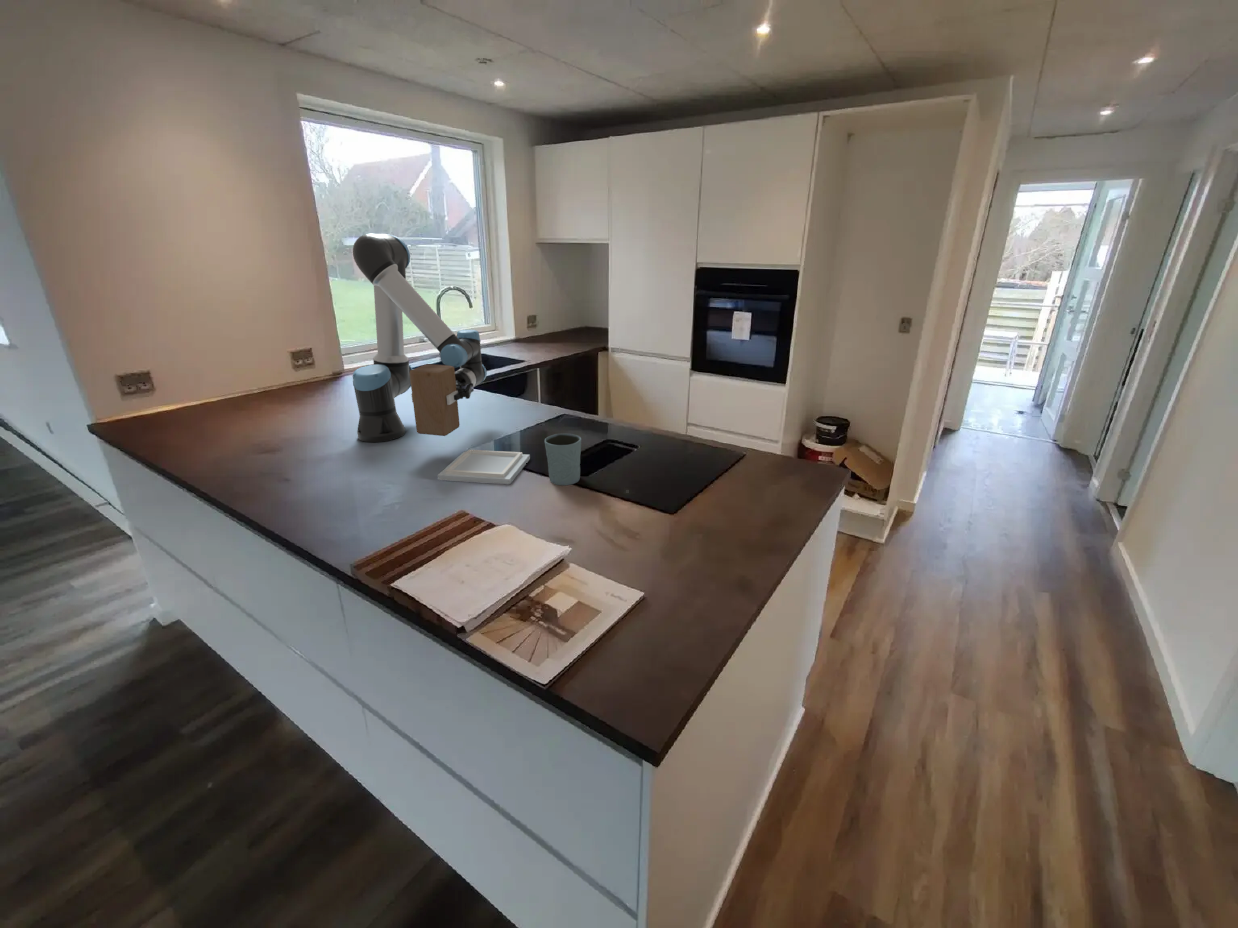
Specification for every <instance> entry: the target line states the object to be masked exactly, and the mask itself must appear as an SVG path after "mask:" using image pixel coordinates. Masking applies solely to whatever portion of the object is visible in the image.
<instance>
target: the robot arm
mask: <svg viewBox="0 0 1238 928" xmlns="http://www.w3.org/2000/svg"><path fill="white" fill-rule="evenodd" d="M352 256H353V257H352V258H353V260H354V262H355V264H356V266H357V268H358V269H359V270H360V272H361V273H362V274H363V275H364V276H365V278H367V280H368V281H369V282H370V283H371V284H372V285H373V294H374V299H373V300H374V311H375V312H374V313H375V330H376V343H377V344H376V345H377V349H376V350H377V353H376V354H375V356H373V358H372V359H373V360H372V361H373V364H370V365H369V364H368V365H366V366H361V367H359V368H357V369H355V370H354V371H353V373H352V386H353V389H354V393H355V399H356V404H357V408H358V414H359V417H358V419H359V420H358V424H357V430H356V433H357V434H356V435H357V437H358V440H359V441H361V442H365V443H381V442H388V441H389V442H390V441H393V440H396V439H398V438H401V437H403V436H404V435H405V434H406V430H405V425H404V424H403V421H402V420H401V418H400V416H399V415H398V411H397V408H396V401H395V398H397V397H398V396H400V395H402V394H404V393H406V392H408V390H409V389H410V388H411V381H410V370H413V369H414V368H412V366H411V365H410V359H409V357H408V356H407V355H406V354H405V349H404V348H405V347H404V346H405V345H404V344H405V343H404V325H403V324H404V321H403V314H404V315H405V316H406V317H407V318H408V319H409V321H411V323H412V324H414V326H415V327H416V328H417V329H418V330H419V332H421V333H422V335H423V336H424V337H425V338H426V339H427V340H428V341H429V342H430V343H431V345H433V346H434V348H435V349H436V350H437V351H438V352H439V355H440V360H441V362H442V364H443V365H448V366H453V367H454V369H456V368H457V370H456V371H455V380H456V391H454V392H452V393H451V394H449V395H447V396H446V397H447V405H450V404H452V403H453V402H455V401H457V402H458V400H463V399H464V398H465V399H470V398H471V395H472V393H473V392H474V391H475V389H474V388H475V387H477V386H478V385H480V384H482V383H483V382H484V381H485V379H486V378H487V375H488V372H487V369H486V366H484V364H483V361H482V350H481V342H482V341H481V338H480V332H479V331H478V330H476V329H461V330H458V331H457V333H456V334H455V333H454V332H453V331H452V330H451V328H450V327H449V326H448V325H447V324H446V323H445V322H444V320H443V319H442V318H441V317H440V316H439V315H438V314H437V313H436V312H435V310H434V309H433V308H432V307H431V306H430V305H429V304H428V303H427V302H426V300H424V298H423V297H422V296H421V295H420V294H419V293H418V291H417V290H416V289H415V288H414V287H413V286H412V285H411V284H410V283H409V282H408V280H407V278H406V277H407V276H406V275H407V274H406V269H407V268H408V266H409V265H410V262H411V253H410V249H409V248H408V245H407V244H406V243H405V242H404V241H403V240H402V239H401V238H399V237H398V236H396V235H394V234H393V235H392V234H388V233H365V234H363V235H361V236H359V237H358V238H357V239H356V240H355V241H354V244H353V247H352ZM458 368H459V369H458ZM410 396H411V402H412V403H413V397H412V393H411V394H410Z"/></svg>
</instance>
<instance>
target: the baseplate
mask: <svg viewBox="0 0 1238 928" xmlns="http://www.w3.org/2000/svg"><path fill="white" fill-rule="evenodd" d="M530 460H531V454H523V452H522V451H521V452H520V451H503V450H486V449H485V450H484V449H483V450H480V449H468V450H464V451H463V452H462V453H461V454H460V455H459V456H458V457H456V458H455V459H454V460H453V461H452V462H451V463H450V464H448V465H447V466H446V467H445V468H444V469H442V471H441V472H439V473H438V474H437V480H438V481H446V482H447V481H448V482H449V481H450V482H463V483H466V482H467V483H481V484H495V485H497V484H499V485H511V484H512V483H513V481H514V480H515V479H516V477H517V476H518V475H520V472H521V471H522V470H523V469H524V467H525V466H526V465H527V464H526V463H528V462H529V461H530Z"/></svg>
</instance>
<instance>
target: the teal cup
mask: <svg viewBox="0 0 1238 928" xmlns="http://www.w3.org/2000/svg"><path fill="white" fill-rule="evenodd" d="M544 448H545V453H546V458H547V459H546V461H547V467H548V477H549V482H550V483H551V484H554V485H557V486H571V485H574V484H576V483H579V481H580V479H581V465H580V464H581V453H582V452H581V450H582V437H581V436H580V435H577V434H573V433H555V434H552V435H549V436H547V437H546V438H544Z"/></svg>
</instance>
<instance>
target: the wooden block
mask: <svg viewBox="0 0 1238 928" xmlns="http://www.w3.org/2000/svg"><path fill="white" fill-rule="evenodd" d="M412 369H413V370H410V381H411V387H410V388H411V394H412V395H411V398H412V397H413V402H412V404H413V411H414V421H415V428H416V432H417V434H420V435H430V436H439V437H446V436H448V435H449V434H451V433H453V432H454V431H455V430H457V429H458V428H460V425H461V424H460V414H459V404H458V400H457V401H455V402H453V403H452V404H450V405H447V397H446V396H447V395H449V394H451V393H452V392H454V391H456V380H455V372H456V371H455V369H456V368H454V367H453V366H448V365H445V364H430V363H429V364H428V363H426V364H423V365H421V366H418V367H415V368H412Z"/></svg>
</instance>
